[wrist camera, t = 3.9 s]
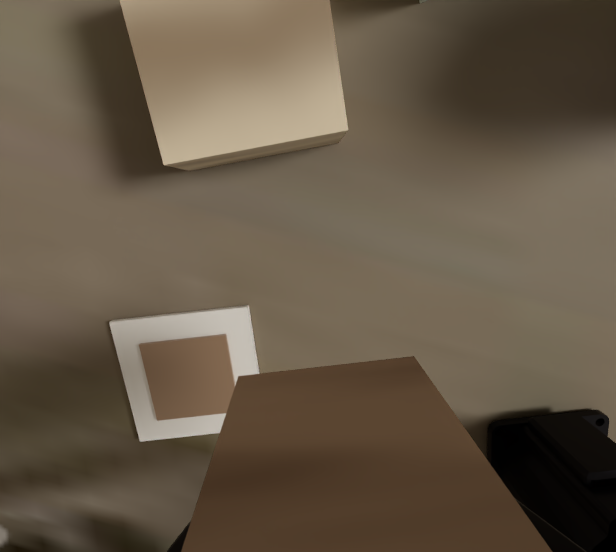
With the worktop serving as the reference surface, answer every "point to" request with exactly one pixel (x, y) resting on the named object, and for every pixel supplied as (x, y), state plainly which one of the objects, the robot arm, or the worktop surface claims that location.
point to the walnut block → (352, 469)
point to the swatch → (184, 368)
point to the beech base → (237, 77)
